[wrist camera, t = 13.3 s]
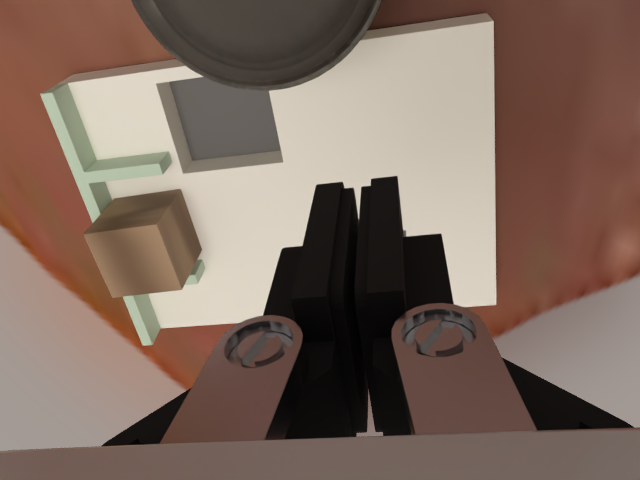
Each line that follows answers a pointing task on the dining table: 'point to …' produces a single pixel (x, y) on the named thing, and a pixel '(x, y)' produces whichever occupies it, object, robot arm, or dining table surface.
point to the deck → (294, 158)
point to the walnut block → (144, 243)
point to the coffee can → (258, 37)
